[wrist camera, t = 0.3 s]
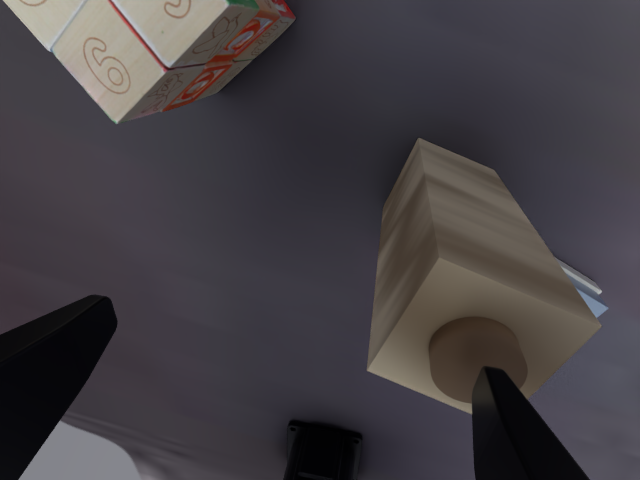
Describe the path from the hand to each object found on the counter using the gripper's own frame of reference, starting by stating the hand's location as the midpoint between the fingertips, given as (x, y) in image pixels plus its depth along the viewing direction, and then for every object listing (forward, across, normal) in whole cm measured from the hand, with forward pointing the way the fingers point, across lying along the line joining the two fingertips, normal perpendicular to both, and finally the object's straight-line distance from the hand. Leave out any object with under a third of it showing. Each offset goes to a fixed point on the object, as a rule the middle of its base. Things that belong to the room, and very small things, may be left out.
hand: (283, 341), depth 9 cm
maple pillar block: (+15, -5, +2) cm, 16 cm away
